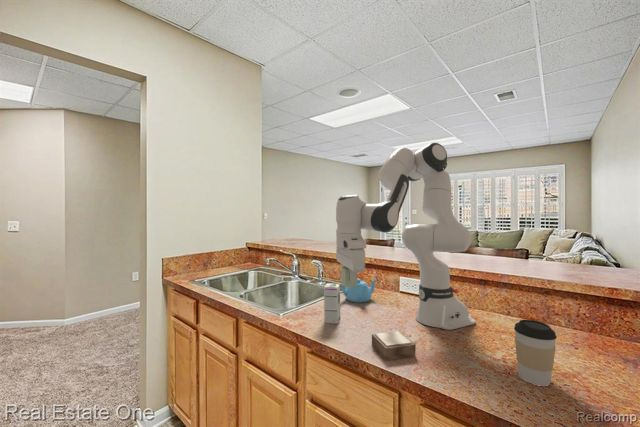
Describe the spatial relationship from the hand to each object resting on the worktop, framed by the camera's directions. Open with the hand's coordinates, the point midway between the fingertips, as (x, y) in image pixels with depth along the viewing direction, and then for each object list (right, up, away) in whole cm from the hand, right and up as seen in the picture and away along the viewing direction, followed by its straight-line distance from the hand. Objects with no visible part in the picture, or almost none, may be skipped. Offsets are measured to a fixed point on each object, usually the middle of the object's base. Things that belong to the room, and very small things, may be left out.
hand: (349, 278), depth 103 cm
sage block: (0, -2, 0) cm, 2 cm away
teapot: (+9, -20, +40) cm, 45 cm away
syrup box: (-6, -20, +13) cm, 25 cm away
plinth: (+13, -20, -11) cm, 26 cm away
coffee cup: (+46, -21, -26) cm, 57 cm away
